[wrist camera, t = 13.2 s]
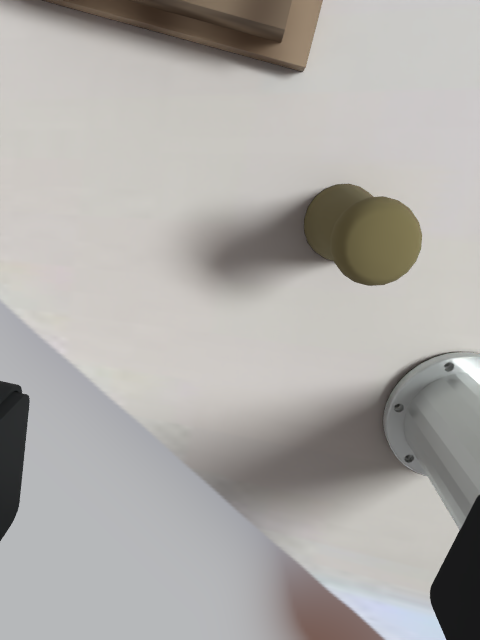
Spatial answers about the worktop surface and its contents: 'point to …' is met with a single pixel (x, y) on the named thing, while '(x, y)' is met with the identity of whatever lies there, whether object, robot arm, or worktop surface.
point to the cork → (363, 234)
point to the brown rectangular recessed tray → (222, 24)
